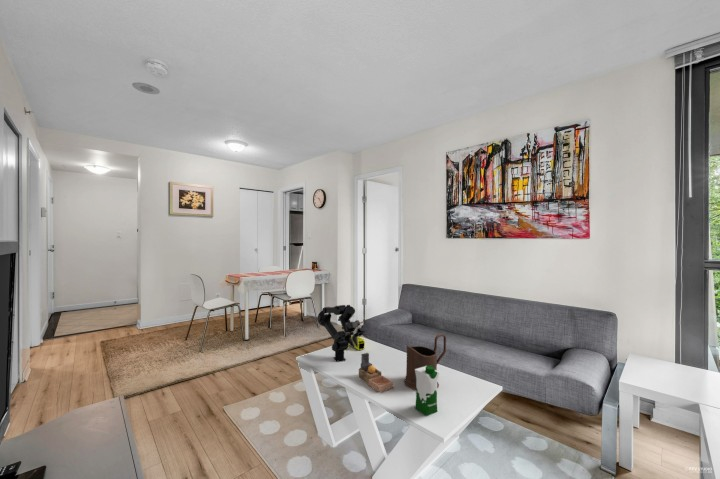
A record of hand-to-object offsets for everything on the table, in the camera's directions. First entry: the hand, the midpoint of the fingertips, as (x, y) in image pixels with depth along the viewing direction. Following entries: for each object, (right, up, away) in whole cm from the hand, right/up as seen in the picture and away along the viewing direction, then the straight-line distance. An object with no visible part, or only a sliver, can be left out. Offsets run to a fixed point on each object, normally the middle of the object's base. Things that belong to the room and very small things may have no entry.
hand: (355, 346), depth 184 cm
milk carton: (+32, -14, -42) cm, 55 cm away
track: (+8, -14, -12) cm, 20 cm away
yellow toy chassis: (-1, -14, +39) cm, 41 cm away
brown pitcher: (+38, -14, -15) cm, 43 cm away
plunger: (+6, -9, -9) cm, 14 cm away
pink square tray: (+13, -14, -20) cm, 28 cm away
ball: (+9, -8, -13) cm, 18 cm away
